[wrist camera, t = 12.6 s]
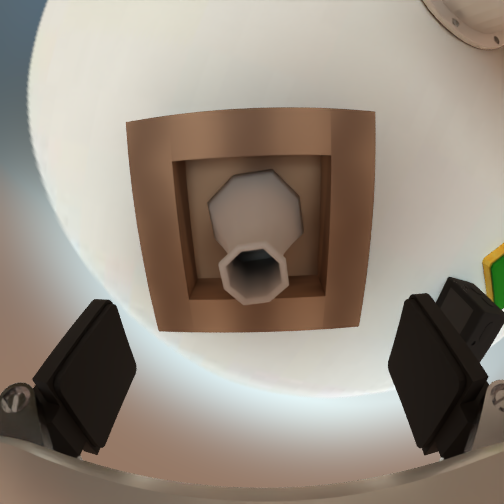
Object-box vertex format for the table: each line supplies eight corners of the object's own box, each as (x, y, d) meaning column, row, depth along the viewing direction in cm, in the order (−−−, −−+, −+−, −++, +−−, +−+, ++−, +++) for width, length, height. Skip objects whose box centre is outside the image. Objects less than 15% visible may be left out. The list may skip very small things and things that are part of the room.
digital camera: (440, 272, 26) (477, 309, 19) (473, 282, 26) (509, 316, 20) (397, 354, 30) (419, 398, 23) (431, 357, 30) (455, 397, 24)
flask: (191, 197, 23) (147, 244, 13) (277, 152, 21) (291, 167, 12) (237, 274, 25) (225, 355, 16) (318, 235, 24) (353, 303, 14)
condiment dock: (354, 114, 21) (375, 111, 17) (345, 297, 27) (358, 326, 23) (148, 122, 21) (125, 122, 17) (171, 302, 27) (158, 331, 23)
